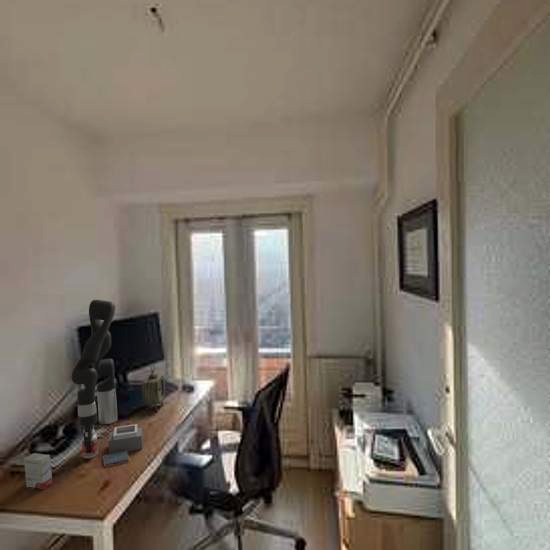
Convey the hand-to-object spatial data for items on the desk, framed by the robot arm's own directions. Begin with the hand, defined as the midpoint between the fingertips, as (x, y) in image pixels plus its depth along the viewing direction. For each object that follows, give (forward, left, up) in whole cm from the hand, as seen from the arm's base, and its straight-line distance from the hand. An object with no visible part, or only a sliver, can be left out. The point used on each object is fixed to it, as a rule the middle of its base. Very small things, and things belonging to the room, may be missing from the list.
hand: (90, 449), depth 192 cm
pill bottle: (0, 0, -3) cm, 3 cm away
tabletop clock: (-50, +28, -3) cm, 57 cm away
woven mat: (+9, +11, -3) cm, 15 cm away
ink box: (+20, -16, -3) cm, 26 cm away
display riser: (-3, +15, -3) cm, 16 cm away
